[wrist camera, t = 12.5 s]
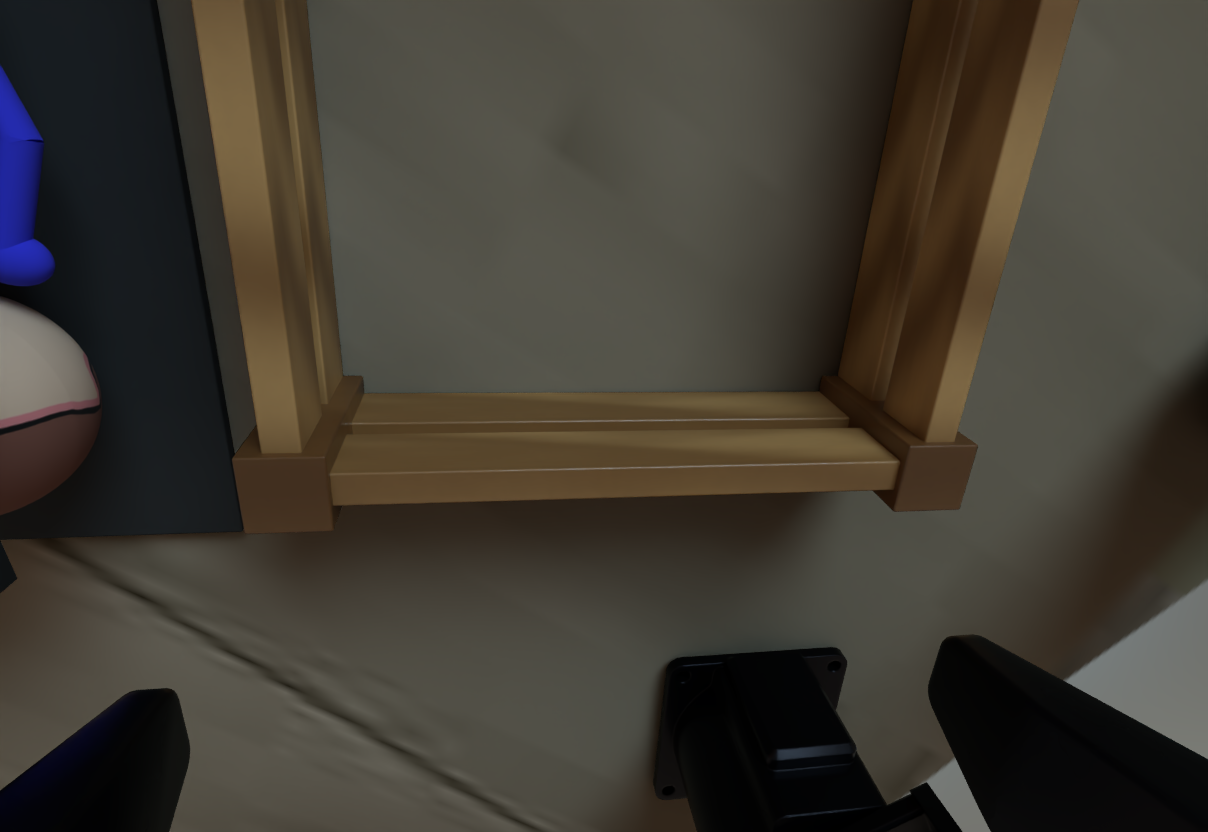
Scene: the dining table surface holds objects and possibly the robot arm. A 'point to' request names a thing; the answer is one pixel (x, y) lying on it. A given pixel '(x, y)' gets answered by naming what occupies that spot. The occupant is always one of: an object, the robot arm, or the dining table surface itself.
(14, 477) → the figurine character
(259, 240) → the crate
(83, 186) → the mat
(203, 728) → the dining table surface
